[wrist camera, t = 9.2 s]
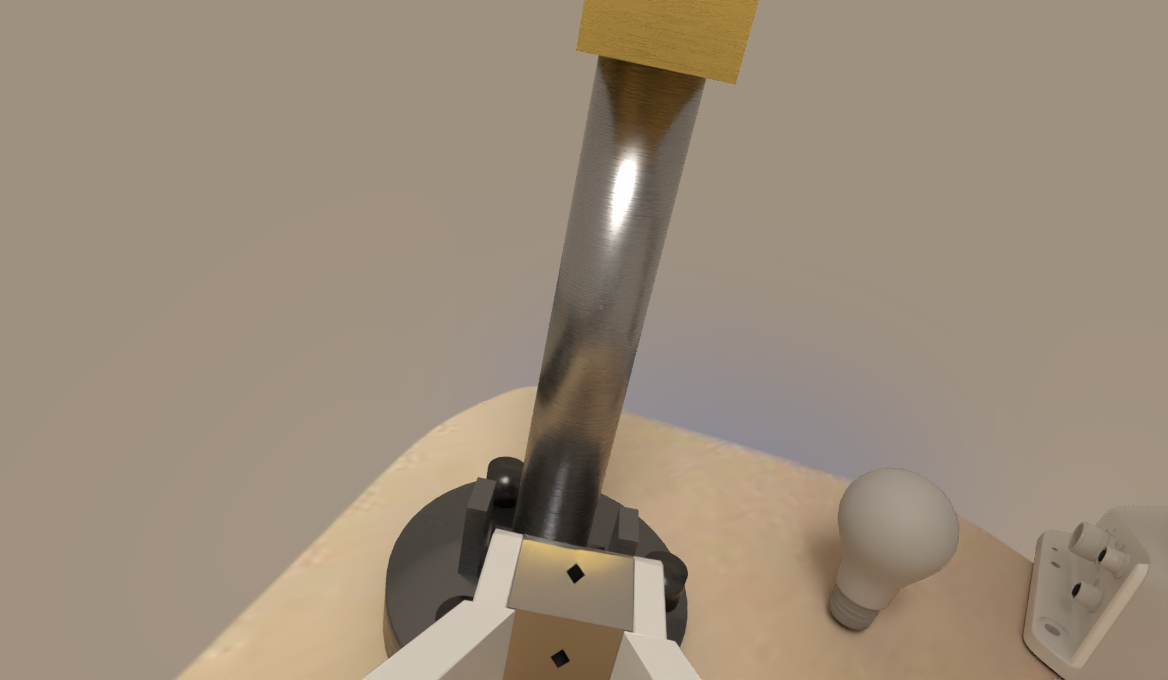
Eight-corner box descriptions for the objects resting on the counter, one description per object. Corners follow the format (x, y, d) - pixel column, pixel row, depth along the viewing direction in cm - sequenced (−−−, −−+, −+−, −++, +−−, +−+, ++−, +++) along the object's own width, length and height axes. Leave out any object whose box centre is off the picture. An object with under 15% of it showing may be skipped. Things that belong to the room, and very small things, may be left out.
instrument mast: (503, 501, 37) (612, -138, 24) (602, 522, 37) (768, -105, 24) (470, 612, 30) (601, -217, 17) (594, 637, 30) (824, -169, 17)
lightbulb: (854, 578, 42) (922, 446, 38) (918, 660, 37) (1006, 517, 33) (777, 585, 41) (838, 446, 36) (833, 671, 35) (913, 522, 31)
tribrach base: (434, 491, 42) (444, 397, 39) (667, 538, 43) (696, 449, 39) (328, 721, 28) (331, 603, 25) (682, 791, 28) (730, 682, 25)
